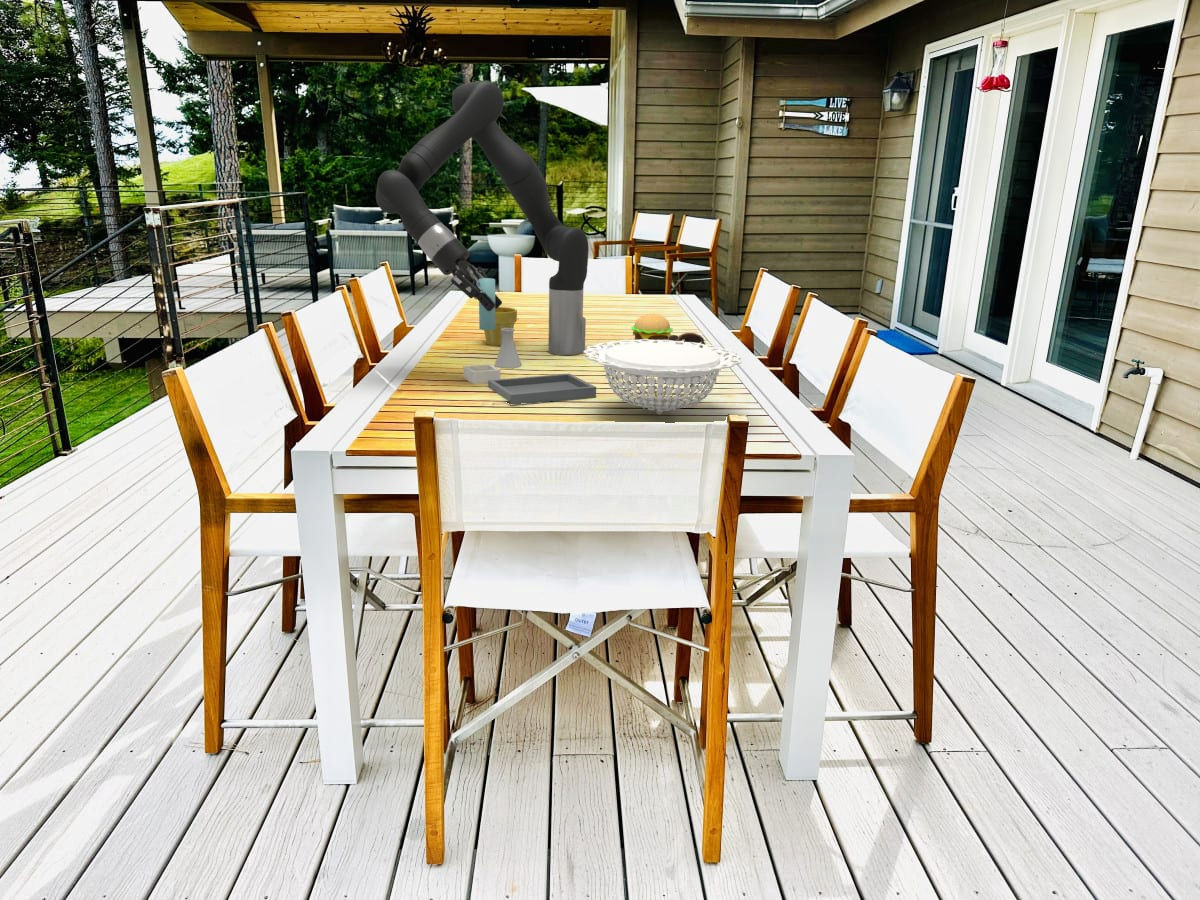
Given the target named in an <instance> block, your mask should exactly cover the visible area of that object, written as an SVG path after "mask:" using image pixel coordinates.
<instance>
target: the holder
mask: <svg viewBox="0 0 1200 900" xmlns="http://www.w3.org/2000/svg"><path fill="white" fill-rule="evenodd" d="M462 367H463V369H462V370H463V373H462V374H463V379H464V380H466V381H467V382H469V383H471V384H472V385H477V384H488V380H496V379H501V369H500V368H498V367H494V365H492V364H490V363H488V364H487V363H485V364H477V365H476V364H474V365H463V366H462Z"/></svg>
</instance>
